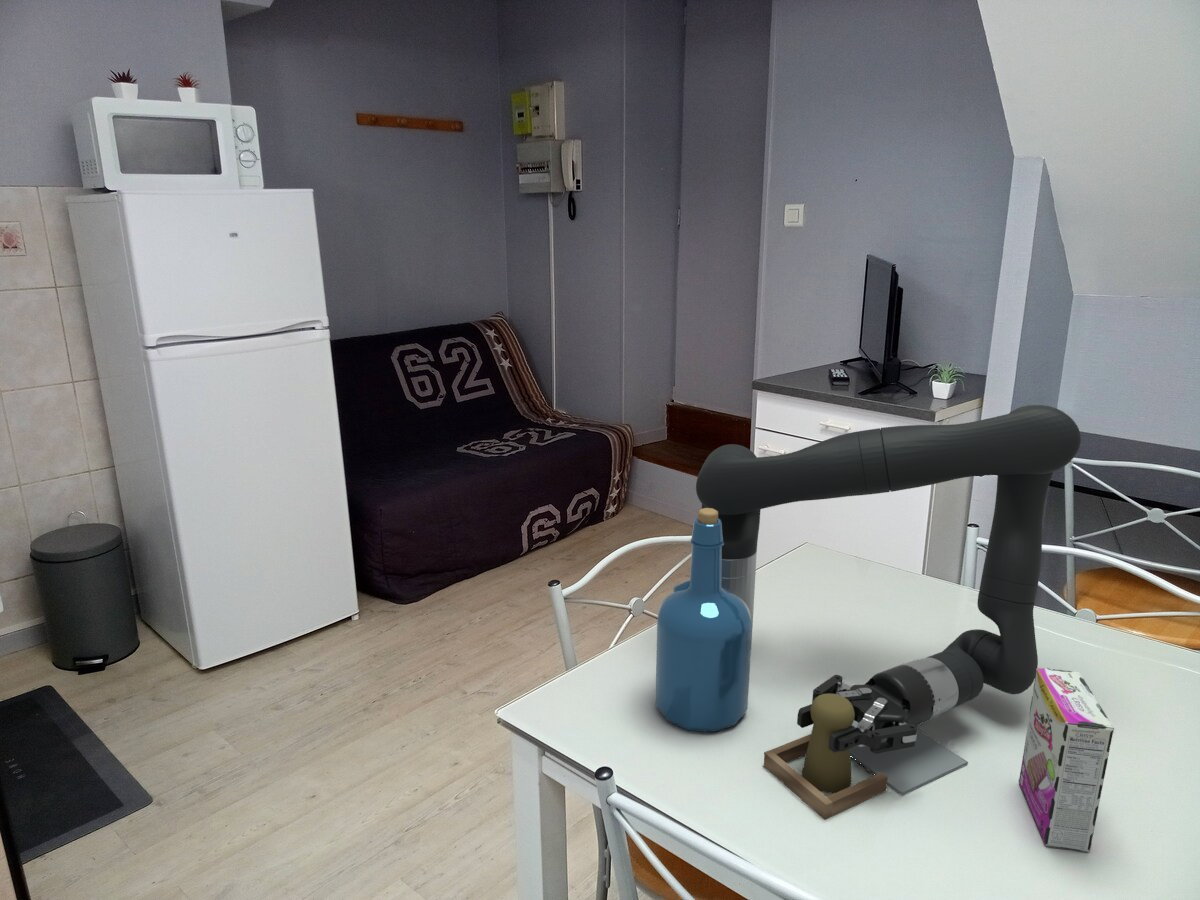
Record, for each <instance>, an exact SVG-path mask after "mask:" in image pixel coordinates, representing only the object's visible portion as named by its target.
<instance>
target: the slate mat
mask: <svg viewBox="0 0 1200 900" xmlns="http://www.w3.org/2000/svg"><path fill="white" fill-rule="evenodd" d="M857 724H858V722H857V721H855V720H854V721H853V724H852V725H853V726H854V727H855V728H857ZM886 740H887V738H884V739H882V741H881V742H885V741H886ZM850 756H852V757H853V758H854V759H856V761H855V762H857V761H858V762H859V763H861V764H862V765H861V764H860V765H861V766H862V767H863V766H864V767H863V768H864V769H866V768H867V769H868V770H869V772H870V771H871V772H870V773H871V774H872V773H873V775H874V774H875V775H877V774H879V773H881V772H882V773H883V774H884V775H886V776H887V777H888V779H887V787H890V788H891V789H892V790H893V791H895V792H896V793H898V794H899V795H900V796H904V795H906V794H908V793H910V792H912V791H915V790H917V789H919V788H921V787H923V786H926V785H927V784H929V783H932V782H933V781H936V780H938V779H939V778H942V777H944V776H946V775H948V774H950V773H952V771H953V772H954V770H955V771H957V770H958V769H962V768H963V767H964V766H968V764H969V762H968V760H967V759H965V758H964V757H961V756H960V755H959V754H957V753H955V752H954V751H952V750H951V749H949V748H948V747H946V746H945V745H943V744H942V743H940V742H939V741H938V740H937V739H934V738H932V736H930V735H929V734H927V733H925V732H923V731H922V730H921V729H920V728H918V727H917V737H916V743H915V746H914V747H909V748H904V749H899V750H893V751H888V752H883V753H873V752H871V751H870V747H868V746H864V747H859V746H855V747H853V748H850ZM853 758H852V759H853ZM854 759H853V760H854ZM858 762H857V763H858ZM859 763H858V764H859ZM867 769H866V770H867ZM956 769H957V770H956ZM868 770H867V771H868ZM875 775H874V776H875ZM943 775H944V776H943ZM941 776H942V777H941ZM937 778H938V779H937ZM935 779H936V780H935Z"/></svg>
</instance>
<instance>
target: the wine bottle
mask: <svg viewBox="0 0 1200 900" xmlns="http://www.w3.org/2000/svg"><path fill="white" fill-rule="evenodd" d="M692 526H693V527H692V533H691V538H690V545H691V557H690V558H691V560H690V571H689V572H690V574H689V576H690V577H689V580H687V581H684V582H682V583H680V584H678V585H675V586H674V587H673V590H672V593H670V594H669V595H667V596H666V597H665V598H663V599H662V601H661V602H660V604H659V606H658V609H657V619H656V620H657V621H656V656H655V657H656V664H655V666H656V668H655V707H656V708H657V710H658V712H660V713H661V715H662V716H663V717H664V718H665V720H667V722H668V723H670V724H673V725H675V726H678V727H681V728H683V729H685V730H687V731H694V732H706V733H707V732H709V733H710V732H712V733H713V732H714V733H715V732H718V731H721V730H724V729H728V728H731V727H734V726H735V725H736V724H737V723H739V721H740V720H741V719H742V718H743V717H744V715H745V714H746V713H747V711H748V705H749V691H750V690H749V687H750V686H749V685H750V672H751V656H752V655H751V654H752V653H751V651H752V644H751V639H752V640H753V627H752V622H751V615H750V611H749V609H748V606H747V605H746V603H745V602H744V601H743V600H742V599H741V598H739V597H738V596H737V595H735V594H734V593H733V592H731V591H729V590H728V589H725V588H723V587H722V586H721V566H722V546H723V545H724V542H723V535H722V522H721V520H720V519H718V511H716V510H715V509H713V508H703V509H702V508H701V509H699V511H698V513H697V517H696V518H694V519H693V525H692Z"/></svg>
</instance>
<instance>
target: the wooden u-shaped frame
mask: <svg viewBox="0 0 1200 900" xmlns="http://www.w3.org/2000/svg"><path fill="white" fill-rule="evenodd" d="M810 737H811V733H810V734H807V735H804V736H802V737H799V738H797V739H795V740H792V741H790V742H786V743H784V744H782V745H780V746H777V747H775V748H771V749H768V750H767V751H764V753H763V754H764V755H763V766H764V768H766V769H767V770H768V771H769V770H770V771H771V772H772V773H771V772H770V771H769V772H770V773H771V774H772V775H774V776H775V777H776V778H777V779H778V780H779V781H781V783H783V784H784V785H785V786H786V787H787V788H788V789H790V791H792V792H793V793H794V794H795V795H797V796H798V797H799V798H800V799H801V800H803V802H804V803H806V804H807V805H808V806H809V807H810V808H811V809H813V810H814V811H815V812H816V813H817V814H818V815H819V816H820V817H822V818H823V819H824V820H827V819H829V818H831V817H834V816H835V815H837V814H840V813H842V812H844V811H846V810H849V809H850V808H853V807H855V806H857V805H859V804H861V803H864V802H865V801H867V800H870V799H872V798H874V797H877V796H878V795H880V794H883V793H884V792H887V787H888V785H887V779H888V777H887V776H886V775H884V774H883V773H882V772H881V773H879V774H877V775H873V776H870V777H868V778H866V779H863V780H862V781H859V782H857V783H854V784H851V785H850V787H848V788H846V789H843V790H841V791H839V792H837V793H831V794H830V795H828V796H826V795H825V794H824V793H823V792H822V791H819V790H818V789H817V788H815V787H814V786H813V785H812V784H811V783H809V782H808V781H807V780H806V779H805V778H803V777H802V774H800V773H798V771H796V770H795V769H794V768H793V767H792V766H790V765H789V764H788V763H790V762H793V761H794V759H795V760H797V759H800V758H802V757H804V756H806V753H807V749H808V745H809V741H810ZM801 756H802V757H801ZM799 757H800V758H799ZM796 758H797V759H796ZM789 761H790V762H789Z"/></svg>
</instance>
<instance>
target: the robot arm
mask: <svg viewBox="0 0 1200 900" xmlns="http://www.w3.org/2000/svg"><path fill="white" fill-rule="evenodd" d="M1081 441H1082V435H1081V431H1080V428H1079V427H1078V425H1077V423H1076V422H1075V420H1074V419H1073V417H1071V416H1069V414H1067V413H1065V412H1064V411H1063V410H1061V409H1059V408H1057V407H1053V406H1050V405H1043V404H1030V405H1023V406H1019V407H1017V408H1015V409H1014V410H1012V411H1010V412H1009V413H1007V414H1002V415H997V416H994V417H990V418H985V419H980V420H976V421H975V420H974V421H971V422H964V423H956V424H912V425H896V426H886V427H878V428H872V429H865V430H859V431H852V432H847V433H844V434H840V435H837V436H834V437H830V438H828V439H825V440H822V441H819V442H817V443H814V444H812V445H810V446H809V445H808V446H806V447H804V448H801V449H798V450H796V451H793V452H789V453H785V454H777V455H769V456H758V457H757V455H756V454H755V453H754V452H753V451H752V450H750V449H749V448H747V447H746V446H743V445H739V444H733V443H731V444H723V445H721V446H719V447H717V448H716V449H714V450H713V451H711V453H709V455H707V458H706V459H705V461H704V463H703V464H702V466H701V469H700V471H699V472H698V475H697V478H696V481H695V482H696V483H695V491H696V492H695V493H696V495H697V496H696V497H697V498H698V500H699V501H700V503H701V509H703V508H713V509H715V510H716V511H718V519H720V520H721V522H722V535H723V542H724V545H723V546H722V566H721V586H722V587H723V588H725V589H728V590H729V591H731V592H733V593H734V594H735V595H737V596H738V597H739V598H741V599H742V600H743V601H744V602H745V603H746V605H747V606H748V609H749V611H750V615H751V622H752V628H753V623H754V607H755V606H754V605H755V589H756V574H757V573H756V572H757V555H758V554H757V550H758V541H759V540H758V539H759V532H760V525H761V522H760V521H761V510H763V509H768V508H773V507H776V506H781V505H784V504H791V503H798V502H807V501H819V500H829V499H837V498H838V499H839V498H845V497H846V498H847V497H855V496H858V497H859V496H868V495H878V494H884V493H885V494H886V493H890V492H891V493H892V492H898V491H904V490H911V489H915V488H920V487H921V488H922V487H926V486H931V485H936V484H940V483H945V482H946V483H947V482H949V481H953V480H958V479H963V478H970V477H980V476H981V477H983V476H997V479H996V494H995V503H994V511H993V516H992V517H993V518H992V524H991V527H990V533H989V538H988V544H987V546H986V547H987V548H986V551H985V558H984V564H983V567H982V574H981V579H980V585H979V591H978V595H977V608H978V611H979V612H980V613H981V614H982V615H984V616H985V617H987V618H988V619H989V620H991V621H992V622H993V623H994V624H995V625H996V627H997V628H998V631H999V635H998V634H997V633H994V632H990V631H989V630H984V629H975V628H974V629H969V630H966V631H964V632H962V633H961V634H960V635H958V637H956V638H955V640H953V641H952V642H951V643H950V644H949V645H947V646H946V647H945V649H944V650H942V651H941V652H938V653H934V654H933V655H929V656H927V657H924V658H919V659H913V660H910V661H908V662H905V663H902V664H900V665H899V664H898V665H896V666H894V667H891V668H888V669H885V670H884V671H881V672H878V673H876V674H874V675H873V676H871V678H870V679H869V680H868V681H867V682H866V683H864V684H854V685H852V686H851V685H849V684H846V683H844V682H843V678H844V677H843V676H841V675H840V674H834V675H833V676H831V677H829V678H828V679H827V680H825V681H824V682H822V683H821V684H819V685H818V686H816V687H815V688H813V690H812V697H811V698H812V699H811V703H810V704H809V705H808V704H807V705H805V706H802V707H800V708H799V709H798V712H797V716H796V717H797V718H796V719H797V720H796V725H797V726H799V727H800V728H802V729H804V728H806V727H809V726H813V724H814V722H813V720H812V718H811V712H810V710H811V705H812V703H813V700H814V699H815V698H816V697H818V696H819V695H822V694H828V693H830V694H837V695H840V696H842V697H844V698H846V699H847V700H849V702H850V703H851V704H852V706H853V708H854V713H855V717H854V720H855V721H857V722H858V724H857V728H855V727H854V726H853V725H852V726H850V727H849V728H846V729H842V730H840V731H837V732H835V733H832V734H831V735H830V737H829V749H830V750H831V751H832V752H834V753H835V752H837V751H839V752H840V751H845V750H847V749H850V748H853V747H855V746H859V747H864V746H868V747H870V751H871V752H873V753H883V752H888V751H893V750H899V749H904V748H909V747H914V746H915V743H916V737H917V728H918V726H919V725H921V724H924V723H926V722H928V721H931V720H933V719H935V718H937V717H940V716H942V715H943V714H945V713H946V712H947V711H950V710H951V709H954V708H956V707H959V706H961V705H963V704H965V703H968V702H969V701H971V700H973V699H975V698H977V697H978V696H979V695H980V693H981V692H982V691H983V688H984V684H985V685H987V686H990V687H992V688H995V689H997V690H999V691H1001V692H1003V693H1006V694H1008V695H1009V694H1010V695H1019V694H1022V693H1024V692H1026V691H1027V690H1028V689H1029V688H1031V686H1032V684H1034V682H1035V677H1036V669H1037V668H1038V667H1039V666H1038V665H1039V661H1038V659H1039V658H1038V657H1039V656H1038V648H1037V641H1036V640H1037V639H1036V632H1035V631H1036V630H1035V620H1034V609H1035V602H1036V599H1037V593H1038V587H1039V582H1040V575H1041V569H1042V568H1041V566H1042V555H1043V554H1042V553H1043V552H1042V550H1043V522H1044V521H1043V519H1044V510H1045V505H1046V498H1047V494H1048V489H1049V486H1050V483H1051V481H1052V477H1053V474H1054V472H1057V471H1059V470H1060V469H1062V468H1064V467H1066V466H1067V465H1068V464H1070V463H1071V462H1072V461H1073V459H1075V457H1076V455H1077V454H1078V452H1079V449H1080V447H1081ZM752 640H753V638H752V639H751V645H752V644H753V643H752ZM884 738H887V740H886V741H885V742H881V741H882V739H884Z"/></svg>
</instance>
